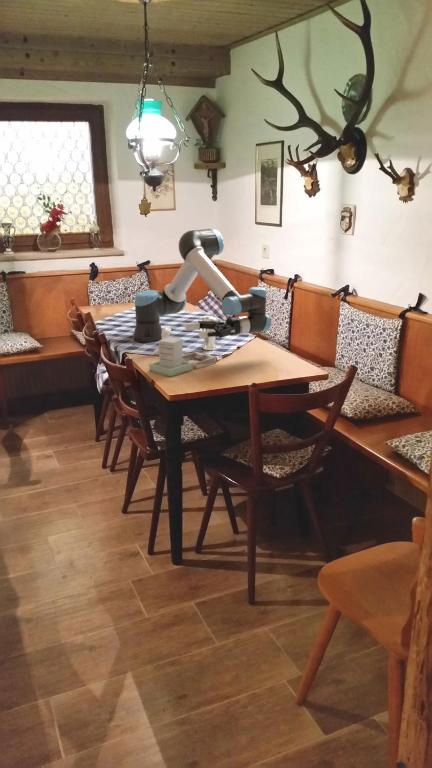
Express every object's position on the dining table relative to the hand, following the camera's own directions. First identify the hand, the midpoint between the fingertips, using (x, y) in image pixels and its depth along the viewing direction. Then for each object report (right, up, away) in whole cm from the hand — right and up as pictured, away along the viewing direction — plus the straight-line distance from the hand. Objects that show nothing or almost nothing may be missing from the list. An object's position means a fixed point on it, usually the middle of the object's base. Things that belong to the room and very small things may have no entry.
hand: (192, 331), depth 246 cm
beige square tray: (+1, -13, +11) cm, 17 cm away
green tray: (-9, -16, +1) cm, 19 cm away
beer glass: (+7, -6, +33) cm, 34 cm away
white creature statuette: (-13, -8, +27) cm, 31 cm away
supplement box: (-9, -16, +1) cm, 18 cm away
